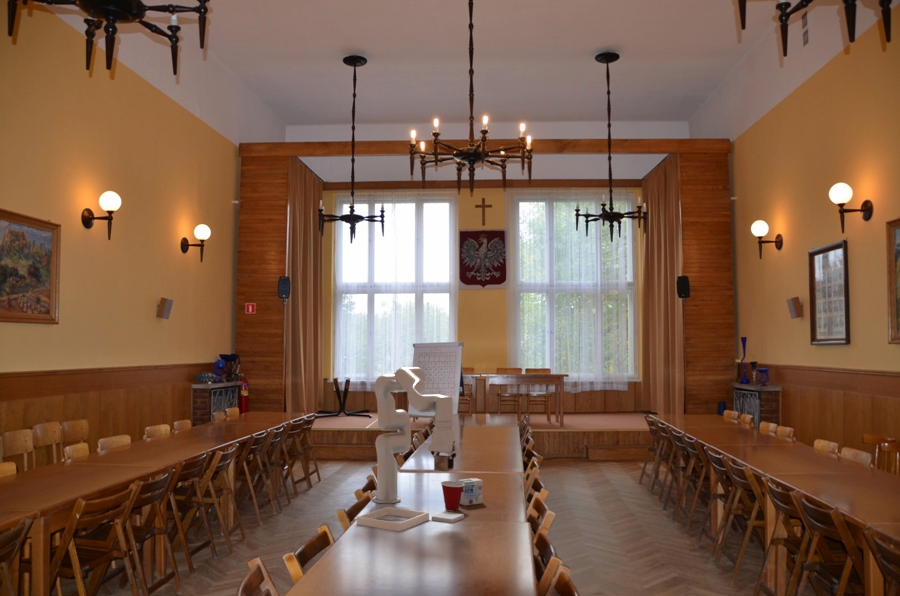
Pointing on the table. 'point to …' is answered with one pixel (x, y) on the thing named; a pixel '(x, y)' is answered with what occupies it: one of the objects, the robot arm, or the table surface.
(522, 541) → the table surface
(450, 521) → the display stand
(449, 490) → the plastic cup
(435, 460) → the walnut block
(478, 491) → the light bulb box
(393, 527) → the beige square frame
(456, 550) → the table surface
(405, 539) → the table surface
